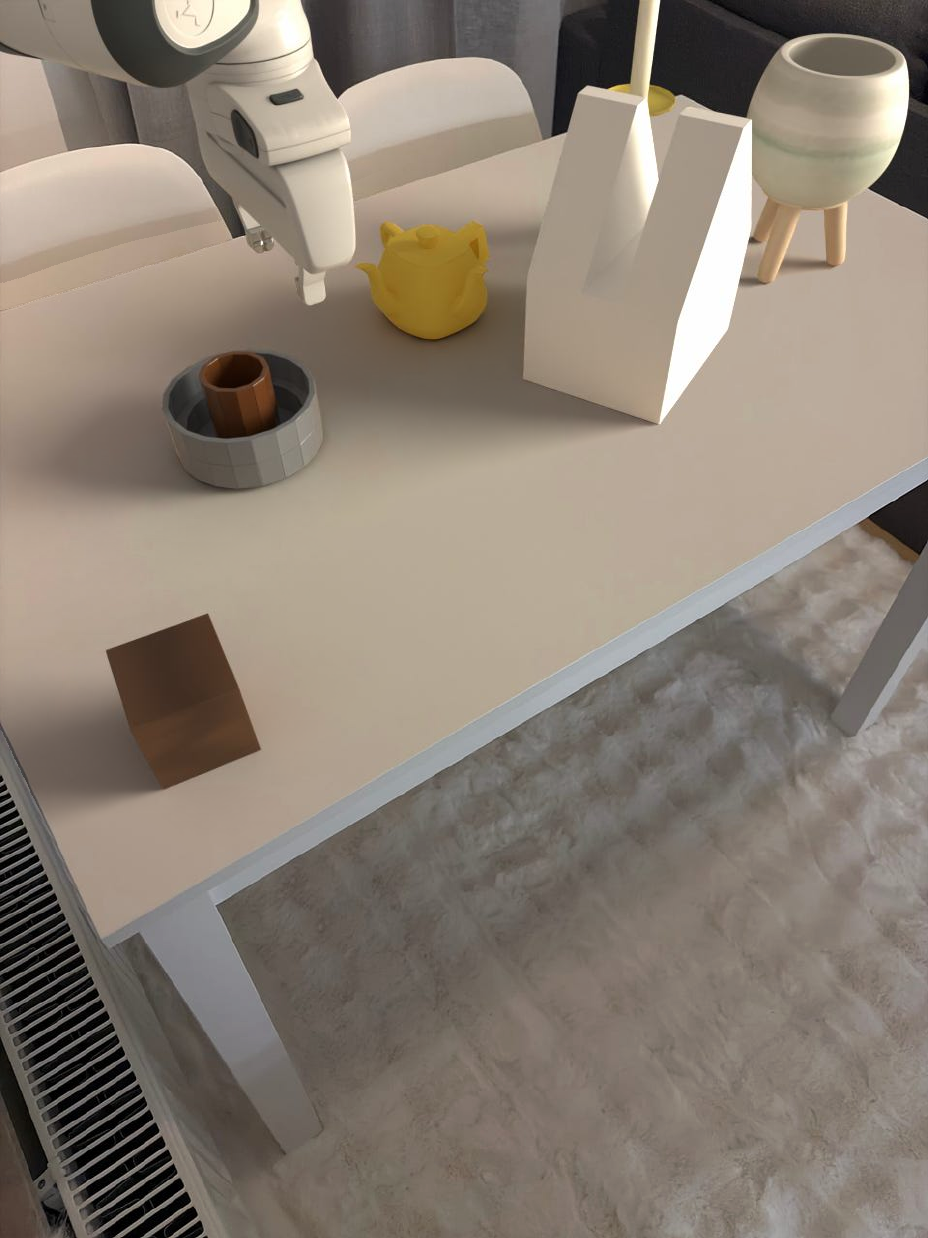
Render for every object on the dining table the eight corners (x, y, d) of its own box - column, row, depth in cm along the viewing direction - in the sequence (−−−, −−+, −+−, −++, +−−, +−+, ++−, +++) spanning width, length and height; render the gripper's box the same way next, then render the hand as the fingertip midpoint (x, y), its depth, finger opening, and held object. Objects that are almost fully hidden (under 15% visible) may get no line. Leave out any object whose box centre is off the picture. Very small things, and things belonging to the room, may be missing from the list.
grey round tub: (201, 510, 84) (185, 460, 80) (162, 424, 93) (145, 374, 88) (345, 463, 88) (337, 413, 84) (295, 384, 96) (285, 334, 92)
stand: (163, 790, 66) (129, 729, 60) (138, 713, 70) (105, 650, 64) (261, 749, 68) (238, 687, 62) (231, 677, 72) (208, 612, 66)
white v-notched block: (659, 424, 91) (705, 169, 72) (523, 378, 96) (532, 129, 77) (727, 328, 101) (784, 83, 82) (601, 291, 107) (627, 53, 87)
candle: (677, 225, 116) (730, -91, 91) (633, 257, 111) (676, -67, 86) (612, 201, 120) (645, -106, 95) (567, 231, 116) (589, -85, 91)
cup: (229, 467, 87) (210, 398, 81) (211, 430, 91) (191, 362, 85) (291, 448, 89) (276, 379, 83) (270, 412, 93) (255, 343, 86)
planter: (732, 219, 117) (774, 19, 100) (863, 240, 113) (930, 35, 96) (705, 283, 107) (747, 74, 90) (847, 308, 103) (919, 95, 86)
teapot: (363, 347, 100) (353, 262, 93) (382, 281, 109) (374, 198, 101) (488, 352, 99) (488, 267, 92) (497, 285, 108) (498, 202, 100)
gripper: (156, 50, 68) (200, 230, 78) (272, 151, 57) (305, 345, 67) (235, 32, 70) (267, 210, 80) (362, 126, 59) (380, 318, 69)
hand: (286, 272), depth 74 cm, fingers open, 8 cm apart
